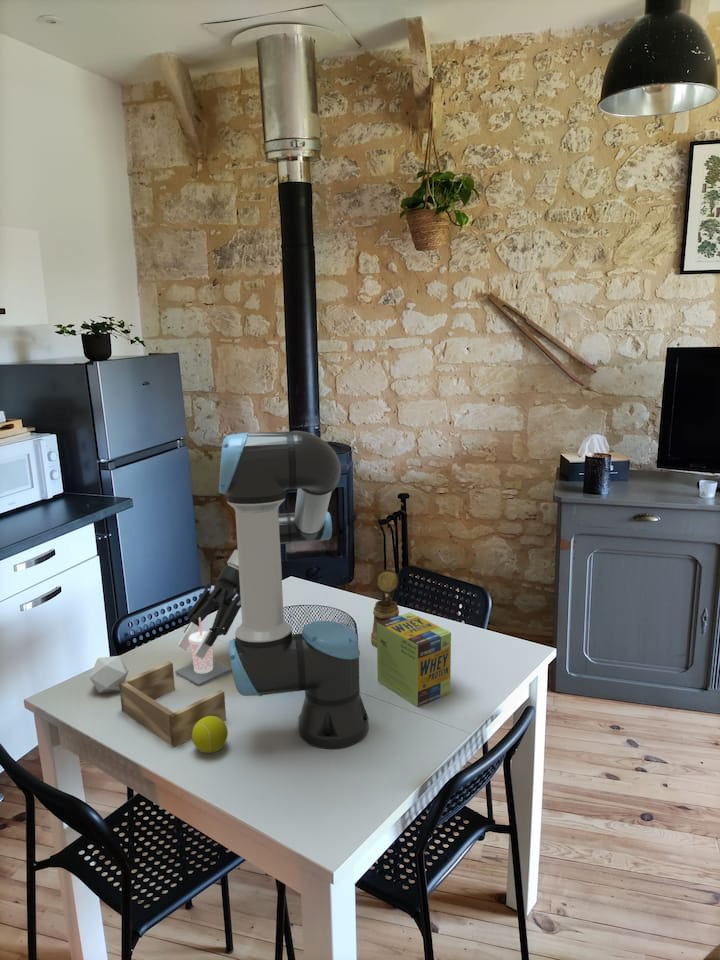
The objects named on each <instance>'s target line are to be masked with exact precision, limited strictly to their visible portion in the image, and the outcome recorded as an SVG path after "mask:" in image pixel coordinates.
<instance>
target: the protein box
mask: <svg viewBox="0 0 720 960" xmlns="http://www.w3.org/2000/svg"><path fill="white" fill-rule="evenodd" d="M451 647H452V632H451V631H449V630H447V629H445V628H443V627H441V626H439V625H436V624H435V623H433V622H431V621H429V620H426V619H424V618H422V617H421V616H418V615H416V614H414V613H412V612H407V613H404V614H401V615H399V616H397V617H394V618H391V619H387V620H384V621H381V622H378V623H377V647H376V650H377V651H376V654H377V655H376V656H377V660H376V663H377V665H376V666H377V667H376V668H377V673H376V674H377V675H376V676H377V679H376V680H377V682H379V683H380V684H382V685H384V686H385V687H387V688H388V689H390V690H392V692H394V693H396V694H397V695H398V696H400V697H402V698H403V699H405V700H406V701H408V702H410V703H411V704H412V705H414V706H416V707H417V708H418V707H420V706H422V705H423V706H424V704H427V703H430V702H432V701H434V700H436V699H439V698H441V697H444V696H446V695H448V694H451V670H452V669H451V668H452V667H451V664H452V661H451V658H452V657H451V656H452V655H451V654H452V652H451V649H452V648H451Z"/></svg>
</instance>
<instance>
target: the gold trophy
mask: <svg viewBox="0 0 720 960" xmlns="http://www.w3.org/2000/svg"><path fill="white" fill-rule="evenodd" d="M376 581H377V583H376V586H377V589H378V590H379V591H380V592H381V594H382V596H381V600H377V601H376V602H375V605H374V607H373V612H372V613H373V625H372V632H371V636H370V642H371V644H372V646H374V647H375V648H377V623H378V622H381V621H384V620H387V619H391V618H394V617H397V616H400V615H399V614H400V612H399V610H400V609H399V606H398V603H397V602H396V601H394V600H392V593H393V592H395V591H396V590H397V589H398V587H399V583H400V579H399V576H398V574H397V573H396V572H395V571H393V570H392V569H391V568H387V569H384V570H383V571H381V572H380V574H379V575H377V579H376Z"/></svg>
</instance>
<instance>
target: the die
mask: <svg viewBox="0 0 720 960" xmlns="http://www.w3.org/2000/svg"><path fill="white" fill-rule="evenodd" d="M128 675H129V669H128V667H127V665H126V664H125V662H124V660H123V659H122V657H121V656H120V655H116V656H114V655H113V656H105V657H98V658H97V659H96V661H95V663H94V666H93V668H92V671H91V673H90V675H89V679H90V681H91V683H92V684H93V686H94V687H95V688H96V690H97V692H98V693H99V694H101V693H102V694H103V693H111V692H120V688H119V683H120V682H122V681H125V680H127V676H128Z"/></svg>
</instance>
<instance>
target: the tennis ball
mask: <svg viewBox="0 0 720 960" xmlns="http://www.w3.org/2000/svg"><path fill="white" fill-rule="evenodd" d="M228 734H229V733H228V726H227V725H226V723H225V721H224V722H223V721H222V720H221V719H220V718H218V717H216V716H207V717H204V718H202V719H200V720H199V721H198V722H197V723H196V724H195V726H194V728H193V731H192V742H193V745H194V747H195V748H197V750H198V751H200V752H202V753H206V754H207V753H208V754H212V753H216V752H217V751H219V750H220V749H221V748H222V747H223V746H224V745H225V743H226V741H227V739H228Z"/></svg>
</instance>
